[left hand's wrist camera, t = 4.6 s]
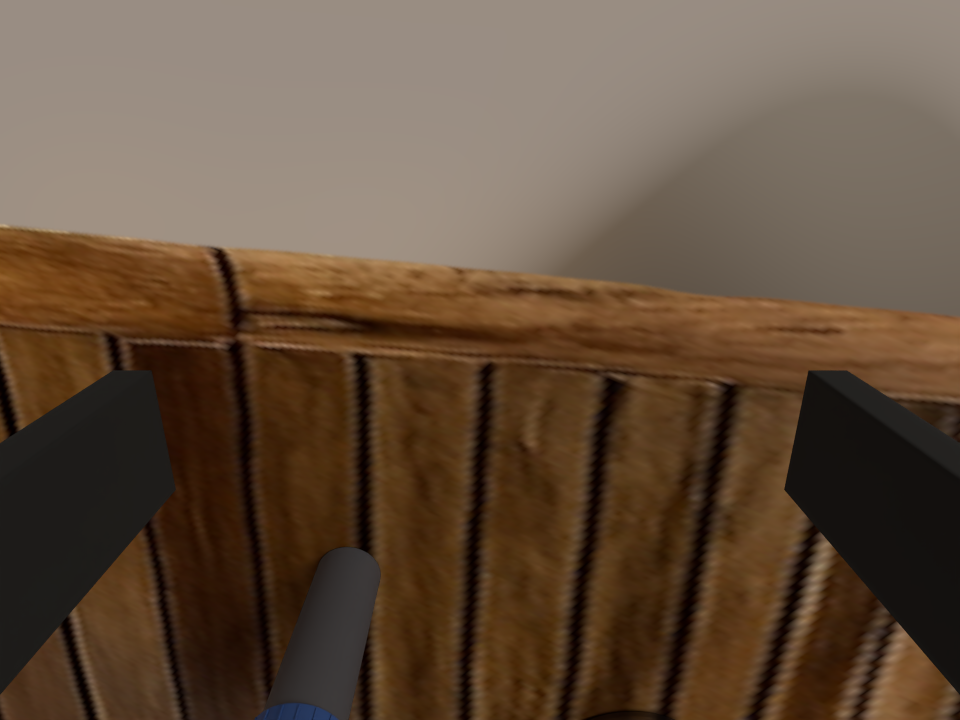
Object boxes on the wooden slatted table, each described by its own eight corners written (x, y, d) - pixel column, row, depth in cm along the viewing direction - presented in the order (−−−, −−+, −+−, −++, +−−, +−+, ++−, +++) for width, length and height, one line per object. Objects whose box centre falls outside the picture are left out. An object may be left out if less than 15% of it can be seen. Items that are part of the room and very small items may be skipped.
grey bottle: (310, 586, 48) (233, 790, 33) (327, 538, 47) (255, 729, 32) (369, 605, 49) (320, 812, 34) (389, 558, 47) (346, 754, 32)
